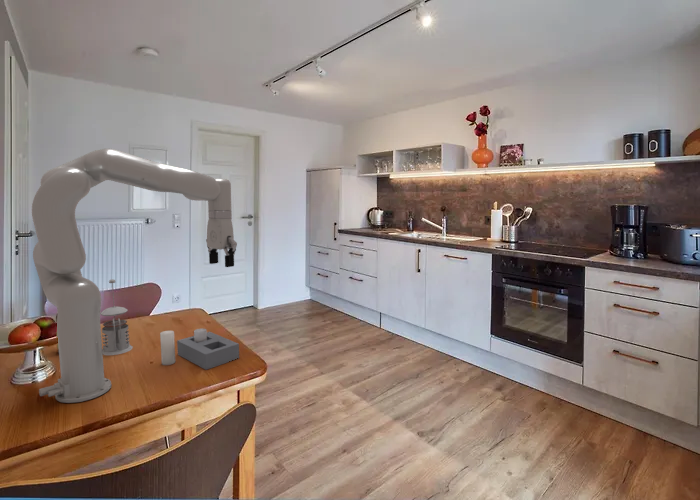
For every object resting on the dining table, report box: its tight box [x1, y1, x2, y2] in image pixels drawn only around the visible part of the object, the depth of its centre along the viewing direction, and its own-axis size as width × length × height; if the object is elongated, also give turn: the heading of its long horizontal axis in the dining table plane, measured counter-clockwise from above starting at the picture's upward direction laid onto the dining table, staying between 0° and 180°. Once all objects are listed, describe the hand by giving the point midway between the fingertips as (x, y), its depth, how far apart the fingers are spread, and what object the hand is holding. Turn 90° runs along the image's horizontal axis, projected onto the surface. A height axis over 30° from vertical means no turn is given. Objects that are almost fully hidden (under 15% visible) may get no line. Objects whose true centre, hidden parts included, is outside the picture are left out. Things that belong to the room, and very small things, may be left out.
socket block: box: [176, 328, 240, 371], centre depth 131 cm, size 12×18×8 cm, turn 50°
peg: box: [159, 330, 176, 366], centre depth 125 cm, size 4×4×10 cm
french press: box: [100, 278, 134, 356], centre depth 134 cm, size 10×12×25 cm
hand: (221, 265), depth 135 cm, fingers open, 9 cm apart
